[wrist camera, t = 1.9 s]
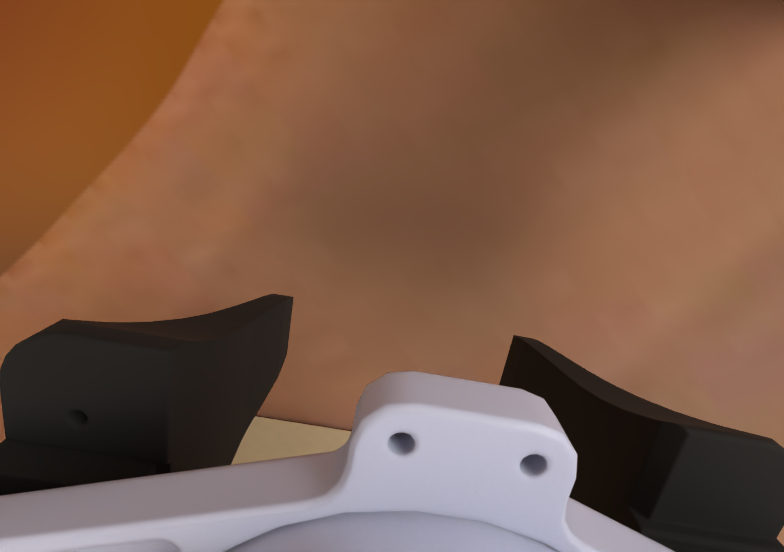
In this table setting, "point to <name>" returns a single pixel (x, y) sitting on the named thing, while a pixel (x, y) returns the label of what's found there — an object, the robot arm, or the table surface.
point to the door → (286, 440)
